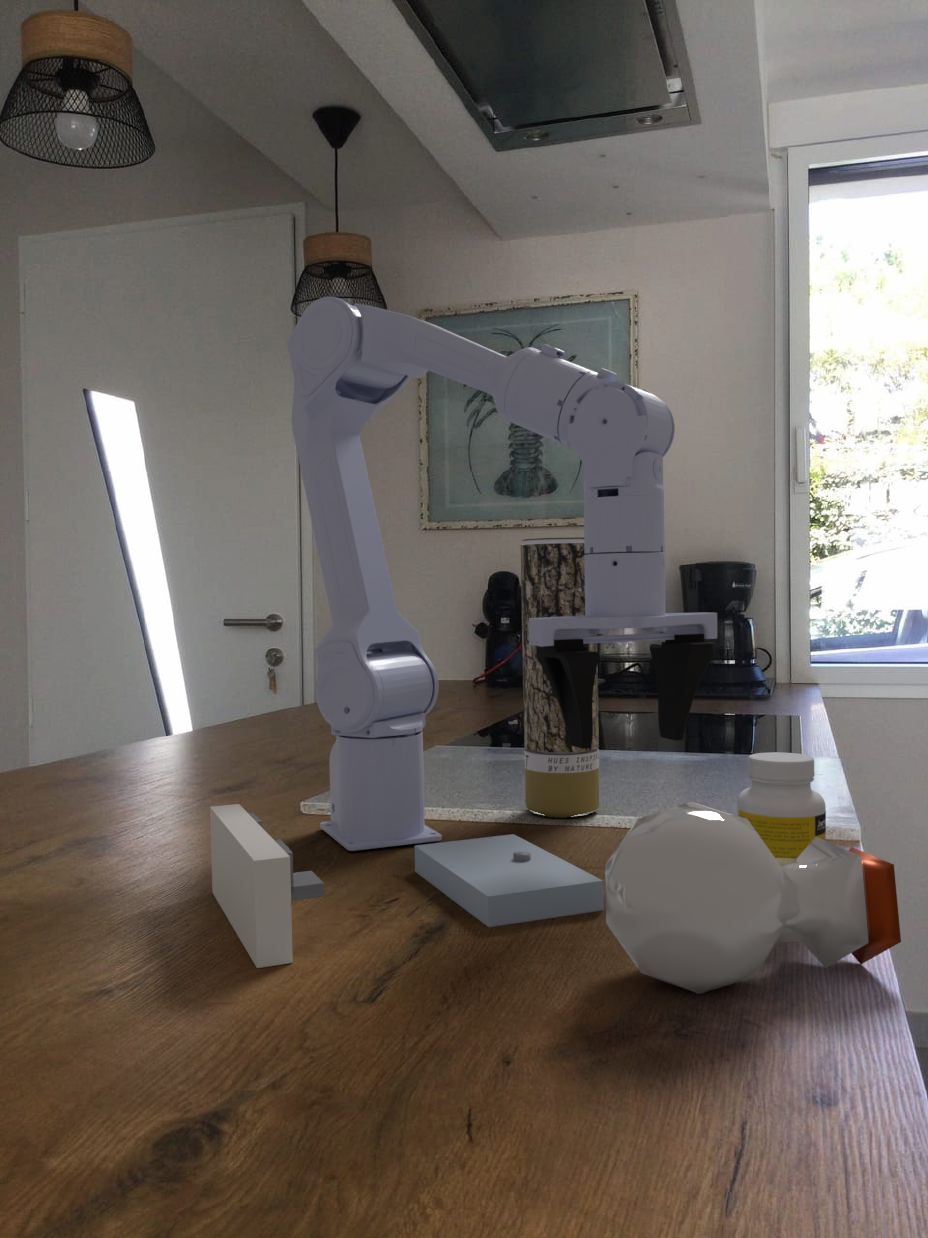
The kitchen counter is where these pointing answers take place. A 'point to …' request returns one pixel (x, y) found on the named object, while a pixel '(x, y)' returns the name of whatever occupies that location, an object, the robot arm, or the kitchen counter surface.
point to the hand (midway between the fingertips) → (626, 742)
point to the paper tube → (552, 766)
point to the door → (508, 879)
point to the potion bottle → (739, 899)
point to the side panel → (256, 884)
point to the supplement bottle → (783, 802)
